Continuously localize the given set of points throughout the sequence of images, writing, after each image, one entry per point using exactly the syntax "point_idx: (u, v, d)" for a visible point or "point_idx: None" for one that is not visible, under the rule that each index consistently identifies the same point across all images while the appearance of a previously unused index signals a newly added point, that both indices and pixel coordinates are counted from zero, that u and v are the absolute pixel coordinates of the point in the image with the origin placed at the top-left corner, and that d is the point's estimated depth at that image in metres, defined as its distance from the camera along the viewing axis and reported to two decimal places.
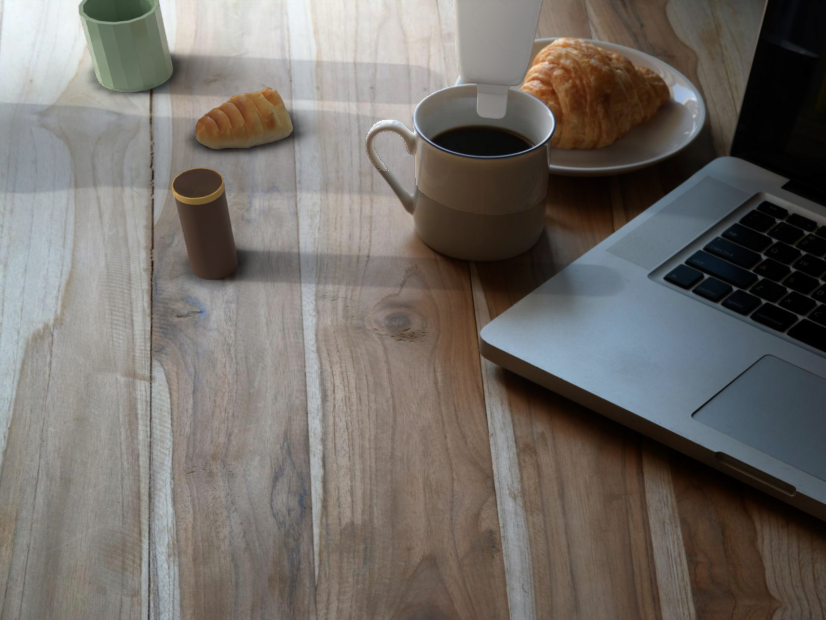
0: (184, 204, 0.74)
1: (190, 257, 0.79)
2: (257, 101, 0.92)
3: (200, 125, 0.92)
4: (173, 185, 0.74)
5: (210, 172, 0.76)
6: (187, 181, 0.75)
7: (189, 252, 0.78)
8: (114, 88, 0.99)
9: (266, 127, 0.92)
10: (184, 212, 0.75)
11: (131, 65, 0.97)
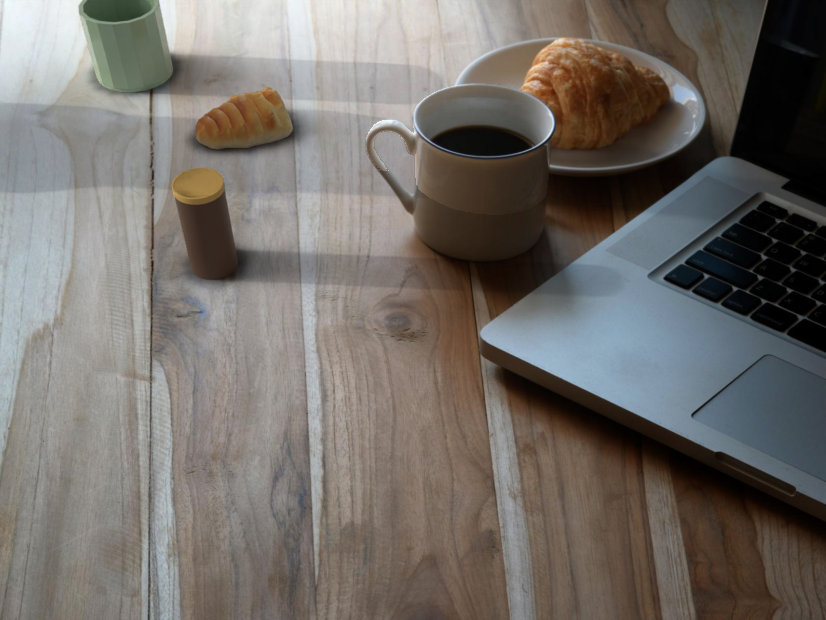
0: (184, 204, 0.74)
1: (190, 257, 0.79)
2: (257, 101, 0.92)
3: (200, 125, 0.92)
4: (173, 185, 0.74)
5: (210, 172, 0.76)
6: (187, 181, 0.75)
7: (189, 252, 0.78)
8: (114, 88, 0.99)
9: (266, 127, 0.92)
10: (184, 212, 0.75)
11: (131, 65, 0.97)
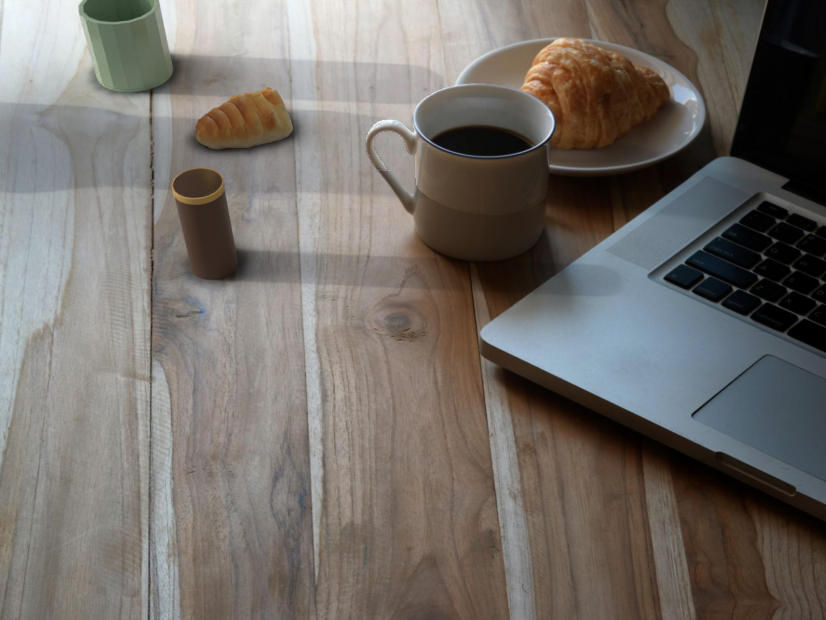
0: (184, 204, 0.74)
1: (190, 257, 0.79)
2: (257, 101, 0.92)
3: (200, 125, 0.92)
4: (173, 185, 0.74)
5: (210, 172, 0.76)
6: (187, 181, 0.75)
7: (189, 252, 0.78)
8: (114, 88, 0.99)
9: (266, 127, 0.92)
10: (184, 212, 0.75)
11: (131, 65, 0.97)
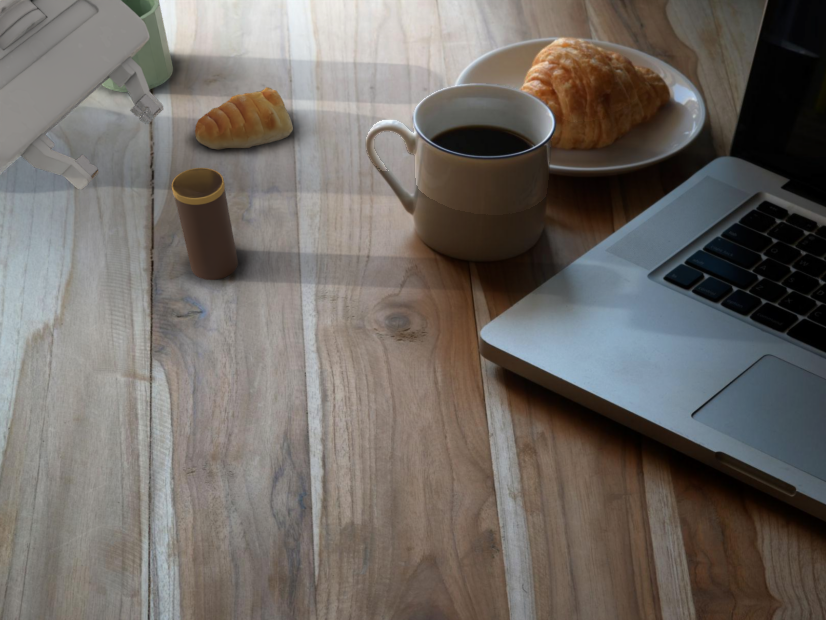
0: (184, 204, 0.74)
1: (190, 257, 0.79)
2: (257, 101, 0.92)
3: (200, 125, 0.92)
4: (173, 185, 0.74)
5: (210, 172, 0.76)
6: (187, 181, 0.75)
7: (189, 252, 0.78)
8: (114, 88, 0.99)
9: (266, 127, 0.92)
10: (184, 212, 0.75)
11: None
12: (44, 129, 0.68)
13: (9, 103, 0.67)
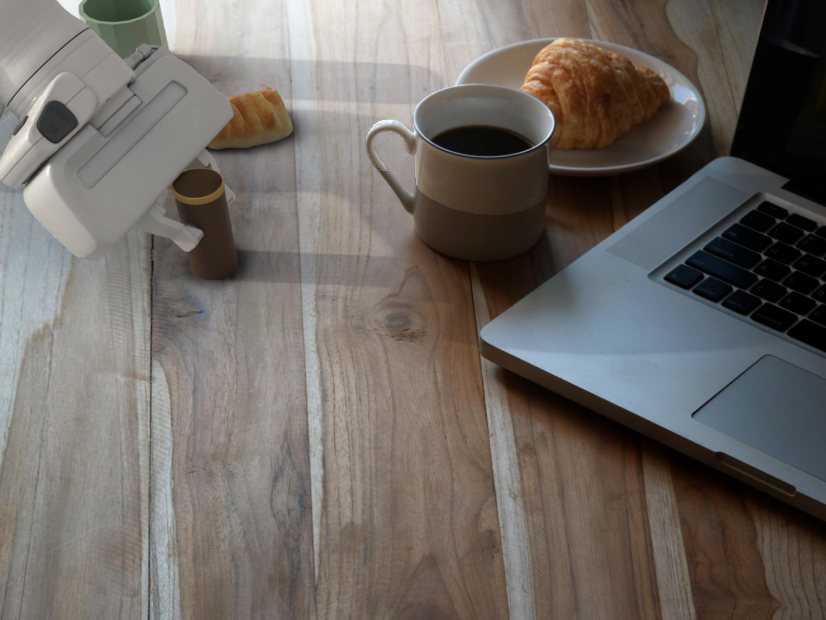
0: (184, 204, 0.74)
1: (190, 257, 0.79)
2: (256, 101, 0.92)
3: None
4: (173, 185, 0.74)
5: (210, 172, 0.76)
6: (187, 181, 0.75)
7: (189, 252, 0.78)
8: None
9: (266, 127, 0.92)
10: (184, 212, 0.75)
11: None
12: (143, 213, 0.71)
13: (111, 190, 0.70)
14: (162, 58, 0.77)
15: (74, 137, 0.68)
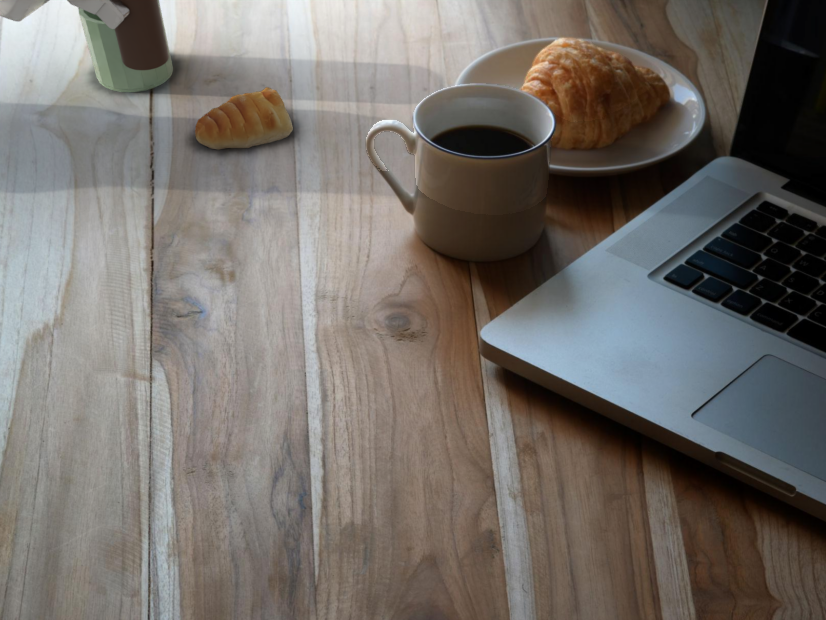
0: None
1: (119, 43, 0.80)
2: (256, 101, 0.92)
3: (200, 125, 0.92)
4: None
5: None
6: None
7: (118, 37, 0.80)
8: (114, 88, 0.99)
9: (266, 127, 0.92)
10: None
11: None
12: None
13: None
14: None
15: None
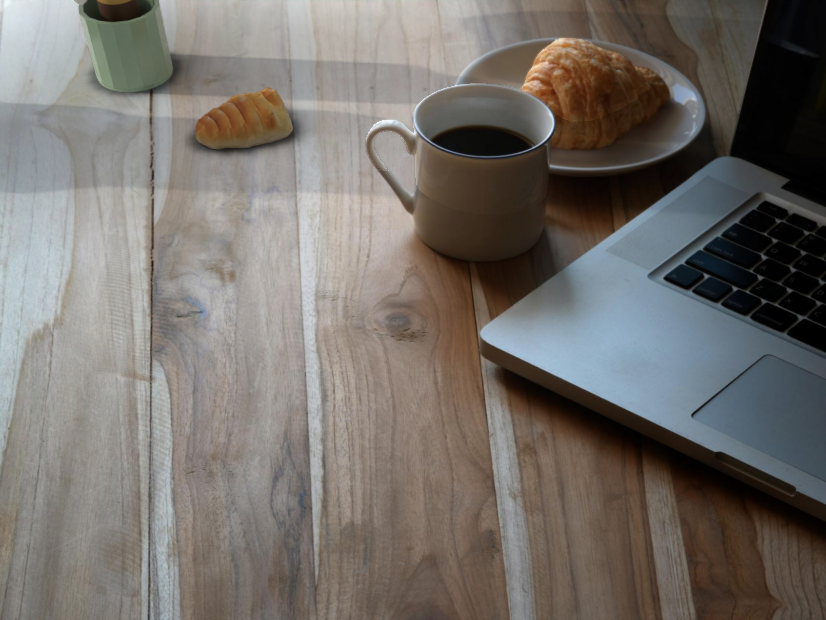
0: (103, 4, 0.94)
1: None
2: (256, 101, 0.92)
3: (200, 125, 0.92)
4: None
5: None
6: None
7: None
8: (114, 88, 0.99)
9: (266, 127, 0.92)
10: (104, 12, 0.95)
11: (131, 65, 0.97)
12: None
13: None
14: None
15: None
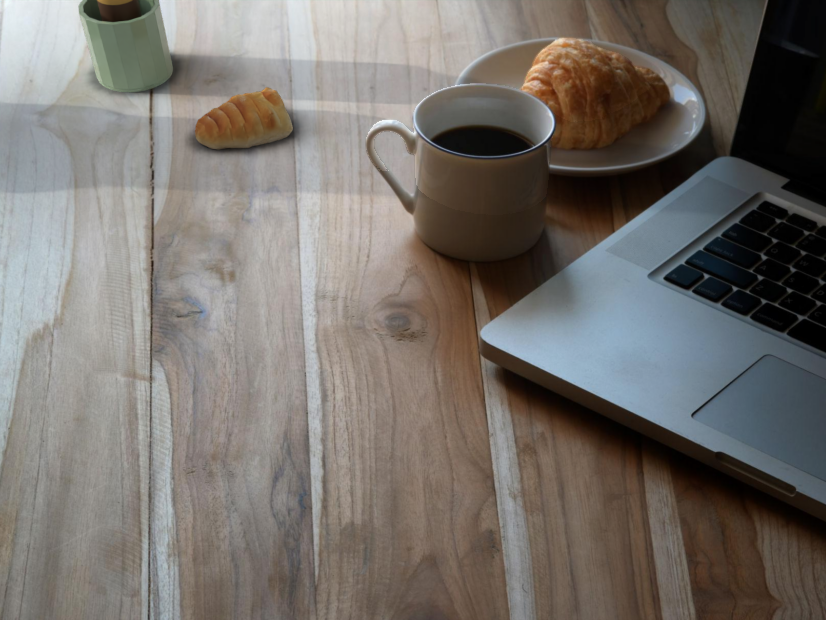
0: (103, 5, 0.94)
1: None
2: (256, 101, 0.92)
3: (200, 125, 0.92)
4: None
5: None
6: None
7: None
8: (114, 88, 0.99)
9: (266, 127, 0.92)
10: (105, 13, 0.95)
11: (131, 65, 0.97)
12: None
13: None
14: None
15: None
